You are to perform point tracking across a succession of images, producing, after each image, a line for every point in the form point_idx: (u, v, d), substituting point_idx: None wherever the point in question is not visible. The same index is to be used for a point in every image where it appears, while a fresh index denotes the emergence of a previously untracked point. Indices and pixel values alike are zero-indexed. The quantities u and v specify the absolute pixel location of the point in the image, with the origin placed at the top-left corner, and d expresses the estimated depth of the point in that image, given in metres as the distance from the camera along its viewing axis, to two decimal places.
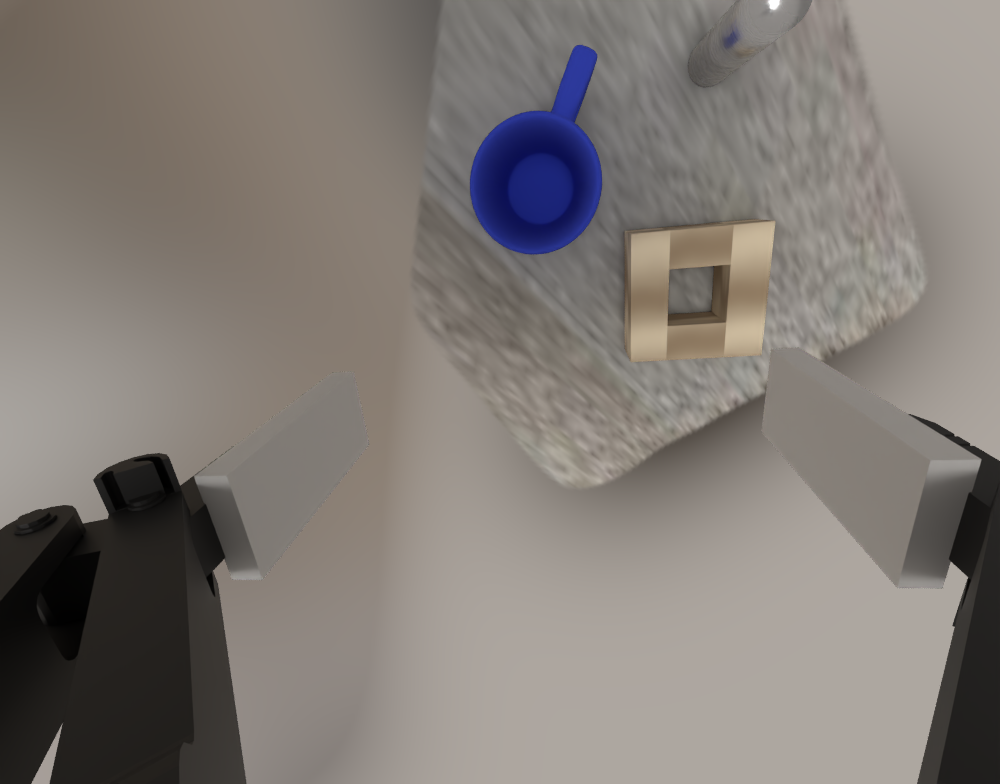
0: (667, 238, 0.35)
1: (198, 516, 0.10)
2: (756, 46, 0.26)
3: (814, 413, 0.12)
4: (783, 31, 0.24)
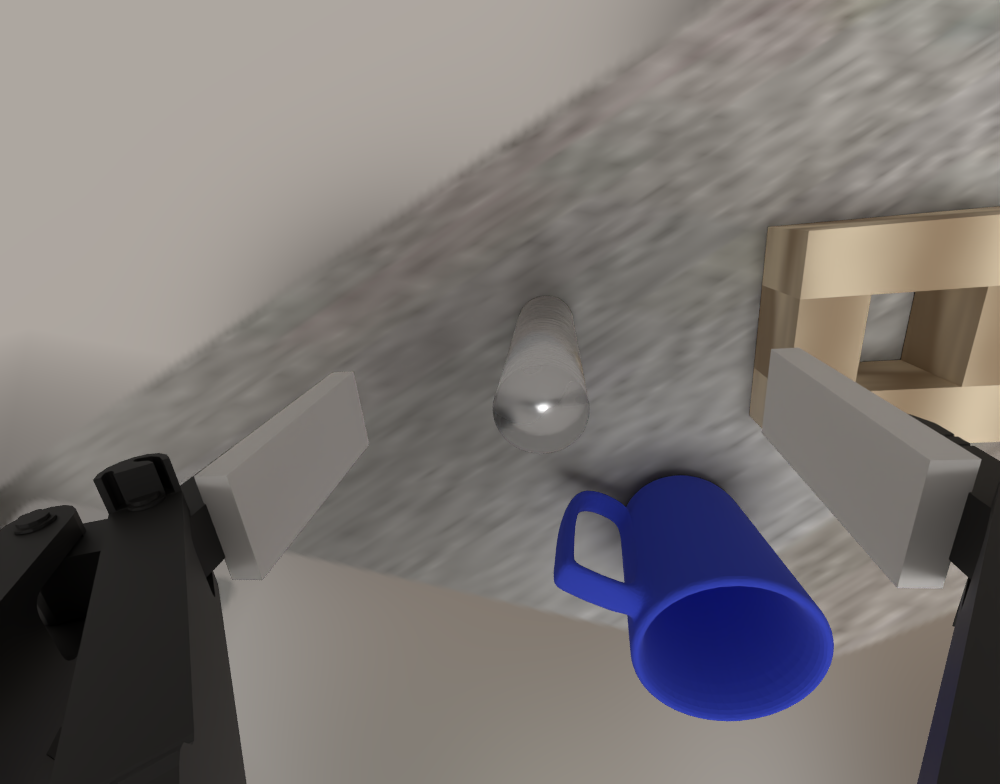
0: None
1: (198, 516, 0.10)
2: None
3: (813, 413, 0.12)
4: (586, 398, 0.15)
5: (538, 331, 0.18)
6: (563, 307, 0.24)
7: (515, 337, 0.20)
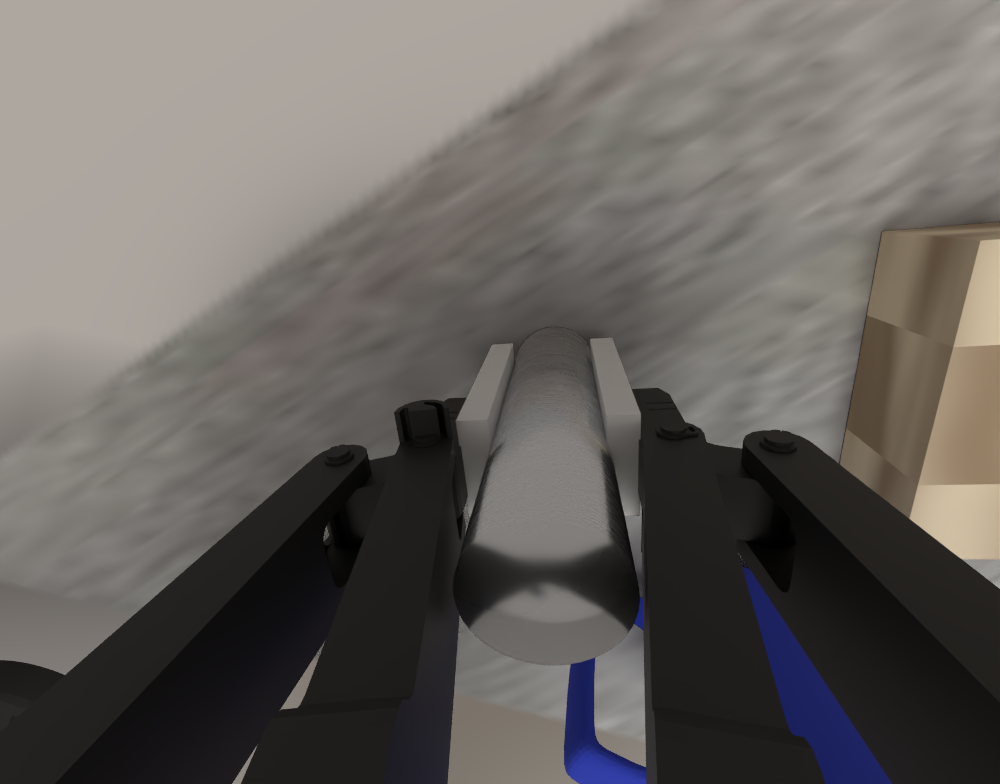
0: (936, 490, 0.15)
1: (459, 456, 0.11)
2: None
3: None
4: (634, 580, 0.07)
5: (542, 408, 0.11)
6: (580, 347, 0.17)
7: (506, 409, 0.12)
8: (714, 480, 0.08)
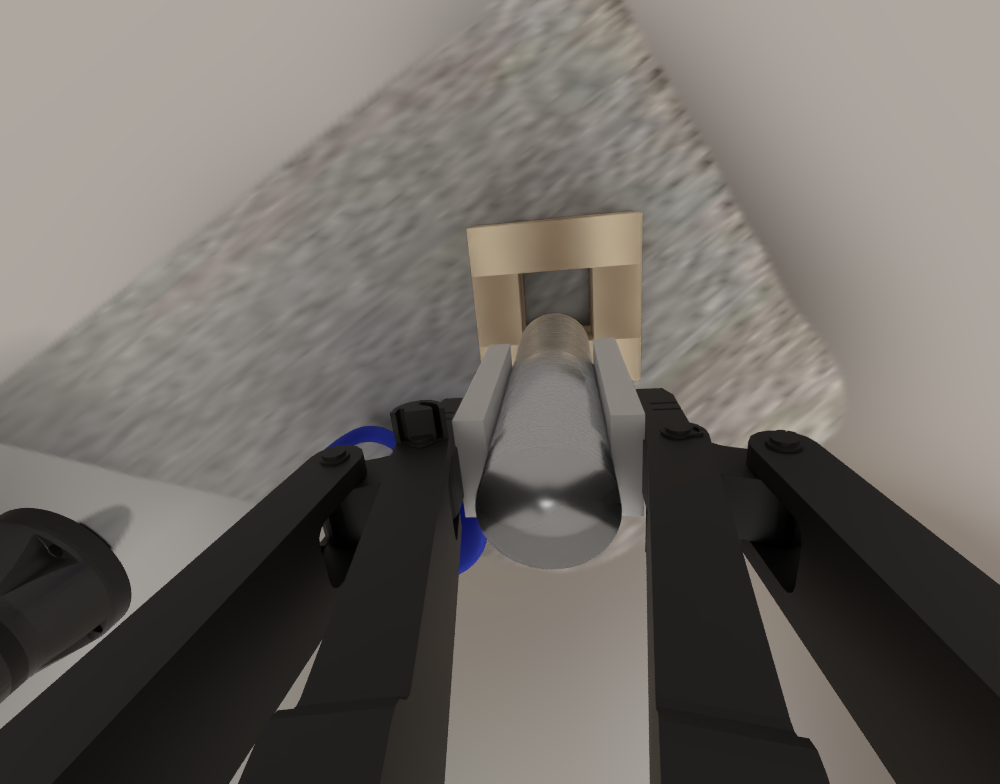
0: None
1: (455, 456, 0.11)
2: None
3: (599, 389, 0.14)
4: (617, 495, 0.10)
5: (545, 374, 0.13)
6: (577, 330, 0.19)
7: (513, 378, 0.14)
8: (718, 480, 0.08)
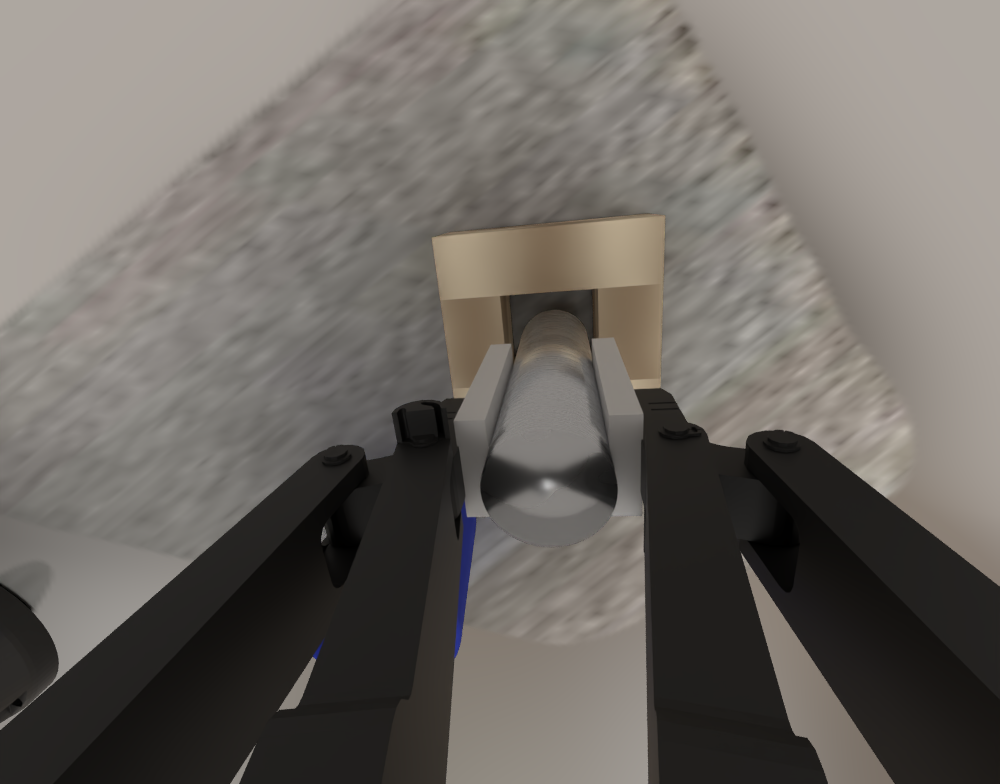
0: (463, 391, 0.24)
1: (456, 456, 0.11)
2: None
3: None
4: (613, 476, 0.10)
5: (545, 366, 0.14)
6: (576, 325, 0.19)
7: (515, 370, 0.15)
8: (717, 480, 0.08)
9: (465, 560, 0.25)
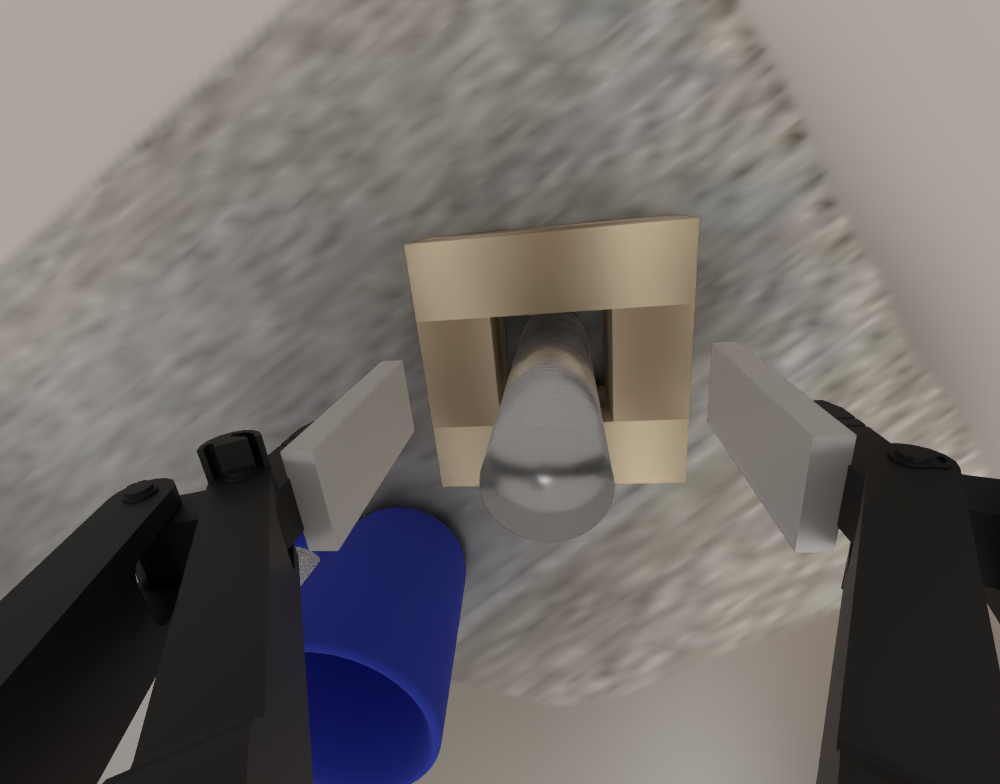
0: (446, 431, 0.20)
1: (284, 489, 0.11)
2: None
3: (741, 401, 0.13)
4: (610, 472, 0.10)
5: (544, 364, 0.14)
6: (575, 325, 0.20)
7: (515, 368, 0.15)
8: (966, 525, 0.07)
9: (449, 632, 0.21)
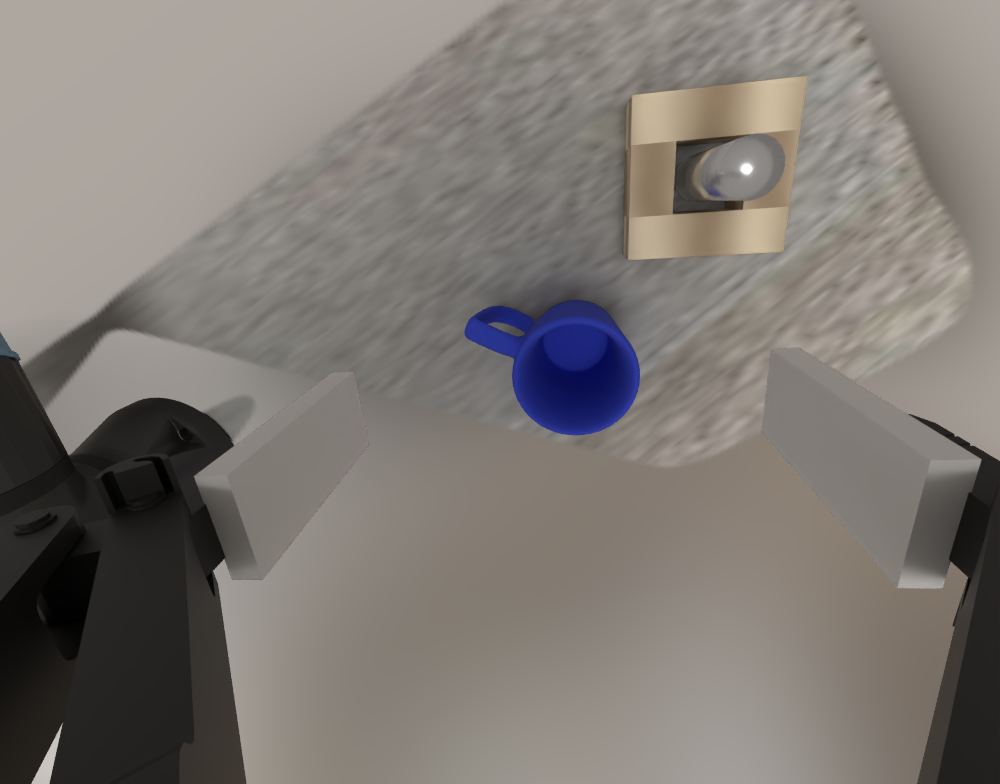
0: (637, 220, 0.32)
1: (198, 516, 0.10)
2: None
3: (814, 413, 0.12)
4: (783, 158, 0.23)
5: None
6: None
7: (703, 155, 0.28)
8: None
9: None
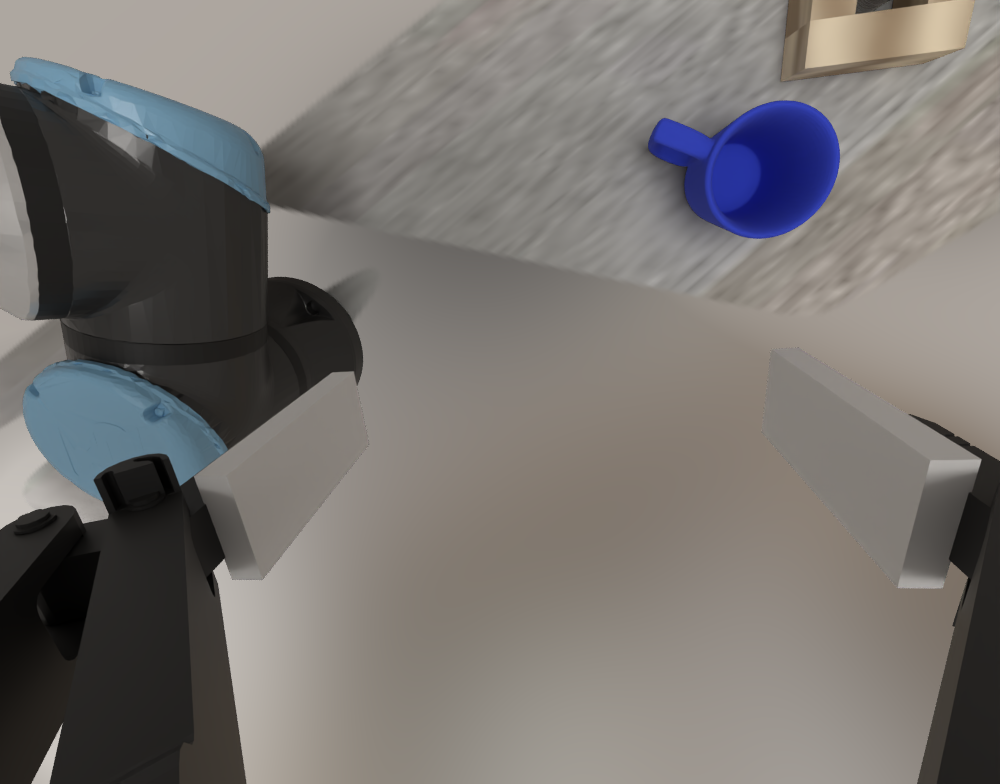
0: (818, 22, 0.33)
1: (198, 516, 0.10)
2: None
3: (813, 413, 0.12)
4: None
5: None
6: None
7: None
8: None
9: None
